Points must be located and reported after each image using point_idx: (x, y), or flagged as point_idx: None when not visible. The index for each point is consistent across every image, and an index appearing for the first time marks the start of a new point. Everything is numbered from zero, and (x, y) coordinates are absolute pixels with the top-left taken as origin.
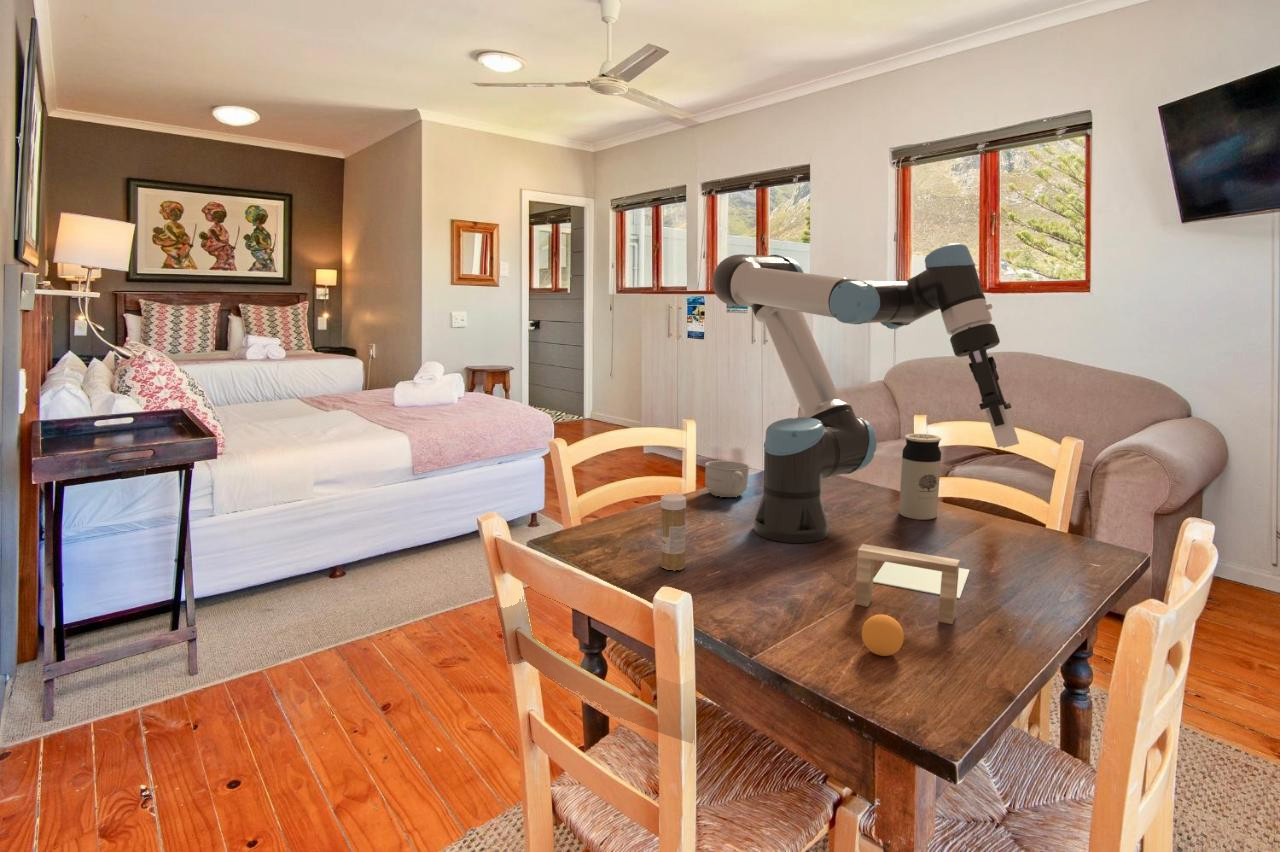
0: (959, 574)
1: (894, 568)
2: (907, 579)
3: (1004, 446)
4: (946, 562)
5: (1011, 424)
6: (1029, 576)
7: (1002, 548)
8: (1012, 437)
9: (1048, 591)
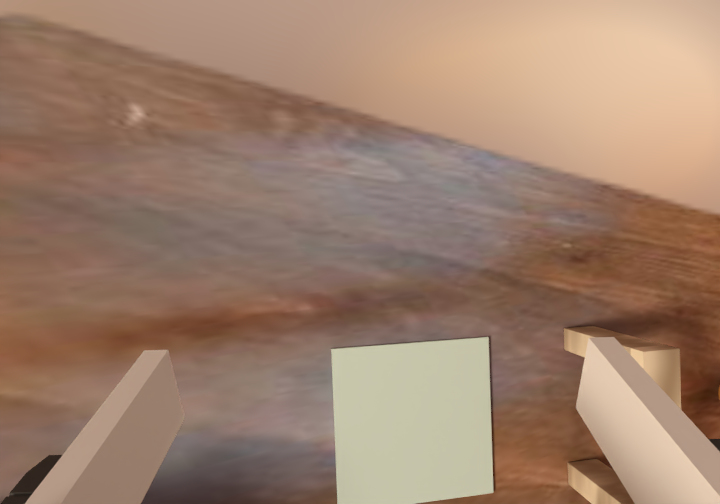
0: (371, 361)
1: (407, 479)
2: (451, 440)
3: (180, 414)
4: (669, 371)
5: (107, 448)
6: (298, 238)
7: (128, 310)
8: (629, 360)
9: (364, 199)
